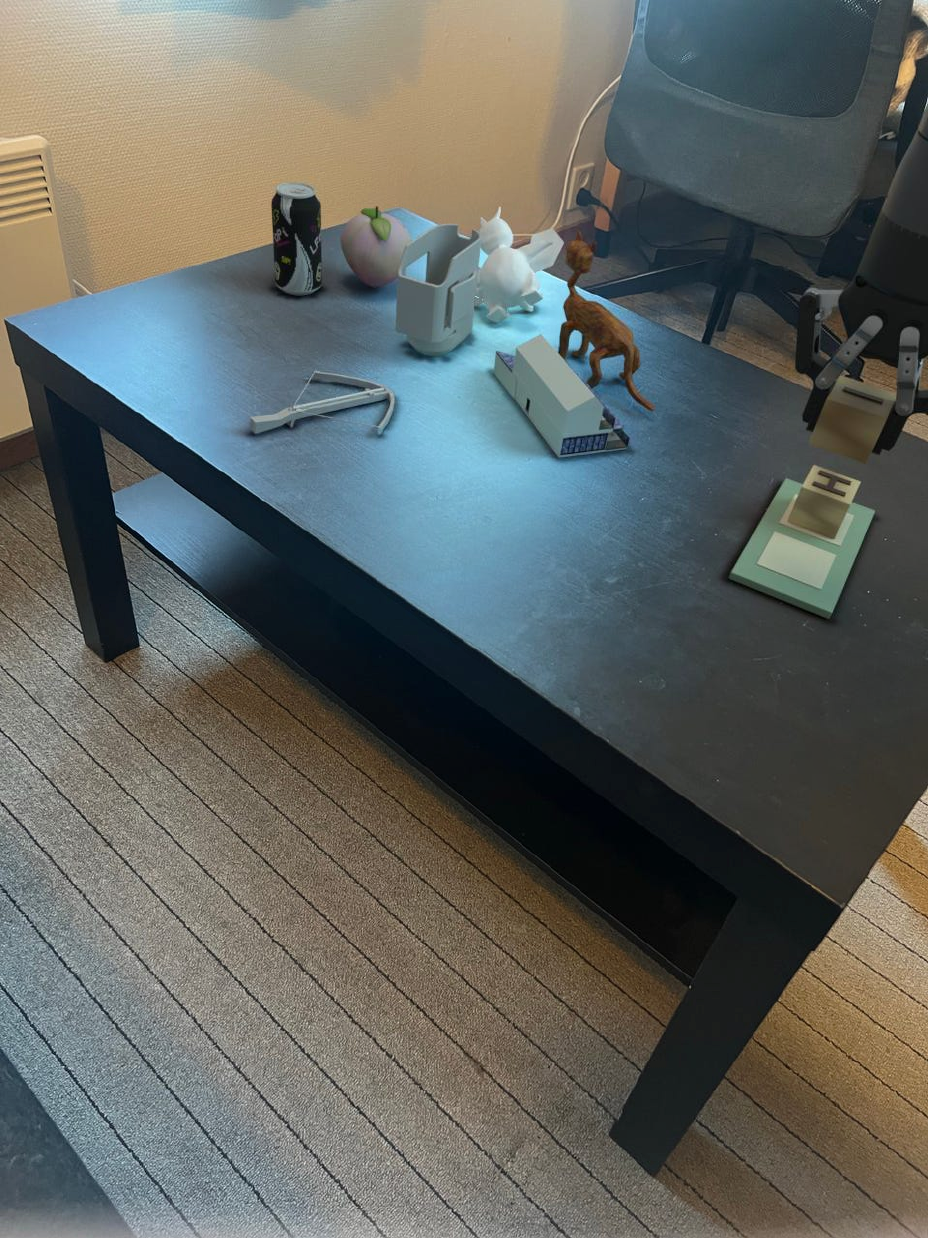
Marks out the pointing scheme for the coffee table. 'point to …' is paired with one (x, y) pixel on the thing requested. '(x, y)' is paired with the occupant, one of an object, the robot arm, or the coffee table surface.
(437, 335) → the cable organizer
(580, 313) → the cat figurine
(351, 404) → the crossbow
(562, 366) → the building
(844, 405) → the tan cube
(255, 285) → the coffee table surface
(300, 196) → the beverage can
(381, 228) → the decorative fruit
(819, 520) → the light wooden cube
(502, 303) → the character figurine
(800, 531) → the word board
